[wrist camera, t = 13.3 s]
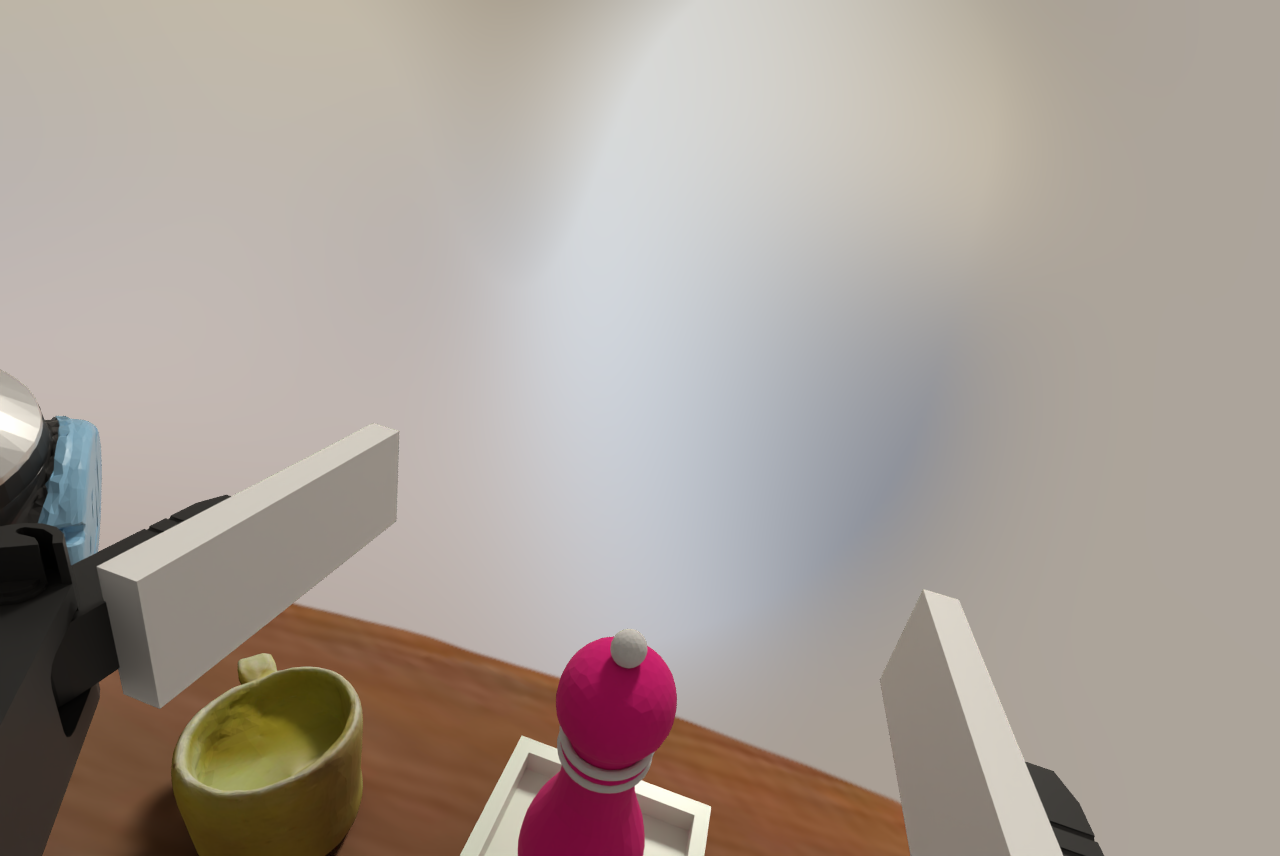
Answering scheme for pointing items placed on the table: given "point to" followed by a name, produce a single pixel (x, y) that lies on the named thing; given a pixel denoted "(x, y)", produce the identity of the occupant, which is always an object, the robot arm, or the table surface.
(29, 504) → the robot arm
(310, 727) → the mug
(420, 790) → the table surface
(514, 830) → the tray
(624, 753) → the pepper mill
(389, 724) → the table surface
